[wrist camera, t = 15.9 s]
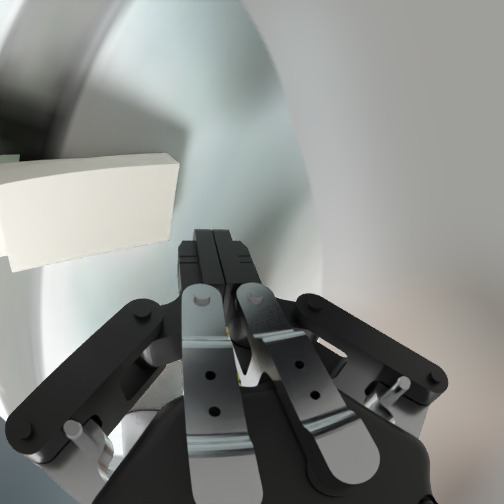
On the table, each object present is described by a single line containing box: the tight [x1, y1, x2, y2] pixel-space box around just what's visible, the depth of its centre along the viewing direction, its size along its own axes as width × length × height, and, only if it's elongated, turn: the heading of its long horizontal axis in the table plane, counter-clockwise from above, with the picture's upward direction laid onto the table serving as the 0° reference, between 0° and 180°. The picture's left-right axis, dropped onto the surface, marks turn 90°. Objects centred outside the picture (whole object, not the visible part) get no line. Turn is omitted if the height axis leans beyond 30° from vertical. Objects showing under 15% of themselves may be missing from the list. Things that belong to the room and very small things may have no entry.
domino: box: [0, 153, 180, 273], centre depth 14 cm, size 5×2×10 cm
